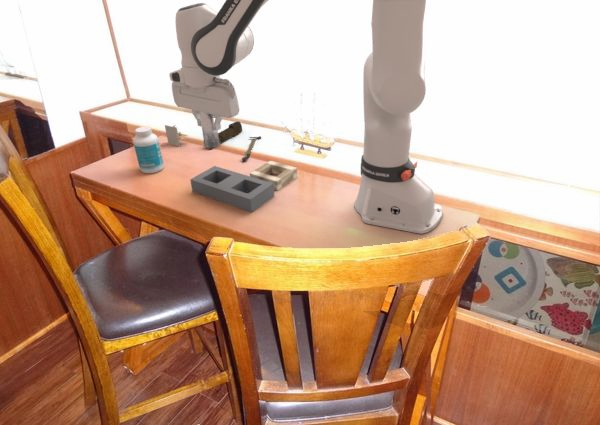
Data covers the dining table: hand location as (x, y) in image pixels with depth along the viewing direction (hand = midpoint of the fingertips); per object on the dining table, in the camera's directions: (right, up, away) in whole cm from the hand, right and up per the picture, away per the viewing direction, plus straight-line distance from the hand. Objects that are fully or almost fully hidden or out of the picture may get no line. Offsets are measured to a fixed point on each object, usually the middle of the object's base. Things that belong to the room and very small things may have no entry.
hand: (209, 127), depth 117 cm
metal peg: (0, -4, +3) cm, 5 cm away
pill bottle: (-23, -9, +23) cm, 33 cm away
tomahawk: (+6, -1, +34) cm, 35 cm away
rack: (+5, -17, +7) cm, 20 cm away
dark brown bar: (-3, +3, +42) cm, 42 cm away
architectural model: (-20, +1, +40) cm, 44 cm away
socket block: (+16, -13, +14) cm, 25 cm away
